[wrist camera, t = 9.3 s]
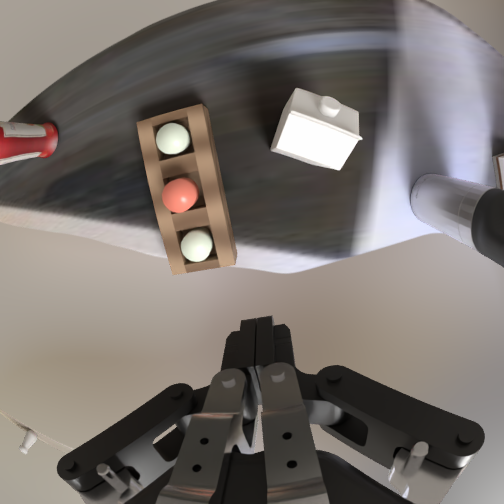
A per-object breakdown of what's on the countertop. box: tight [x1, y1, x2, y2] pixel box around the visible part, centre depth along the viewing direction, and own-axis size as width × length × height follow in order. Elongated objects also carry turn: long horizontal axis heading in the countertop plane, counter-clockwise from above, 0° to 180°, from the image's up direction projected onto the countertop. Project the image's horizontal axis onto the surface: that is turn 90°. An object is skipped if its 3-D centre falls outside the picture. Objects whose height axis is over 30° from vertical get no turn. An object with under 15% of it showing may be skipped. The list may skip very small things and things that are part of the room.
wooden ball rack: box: [137, 104, 237, 275], centre depth 42 cm, size 24×10×5 cm, turn 10°
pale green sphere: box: [156, 123, 192, 154], centre depth 38 cm, size 4×4×4 cm
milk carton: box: [270, 88, 362, 170], centre depth 33 cm, size 7×7×19 cm
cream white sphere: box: [181, 227, 214, 262], centre depth 43 cm, size 4×4×4 cm
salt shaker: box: [19, 430, 37, 454], centre depth 71 cm, size 6×6×13 cm
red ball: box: [162, 177, 199, 213], centre depth 38 cm, size 4×4×4 cm
